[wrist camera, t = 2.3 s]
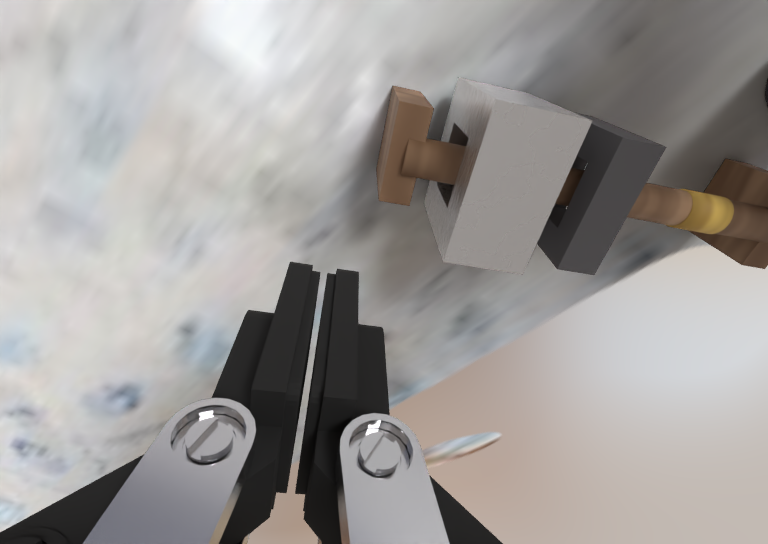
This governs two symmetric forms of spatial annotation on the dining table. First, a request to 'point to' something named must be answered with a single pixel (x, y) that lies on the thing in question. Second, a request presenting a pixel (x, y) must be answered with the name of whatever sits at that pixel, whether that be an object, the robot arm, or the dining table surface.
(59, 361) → the dining table surface
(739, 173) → the dowel rail
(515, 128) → the sleeve
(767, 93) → the travel mug
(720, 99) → the dining table surface
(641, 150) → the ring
